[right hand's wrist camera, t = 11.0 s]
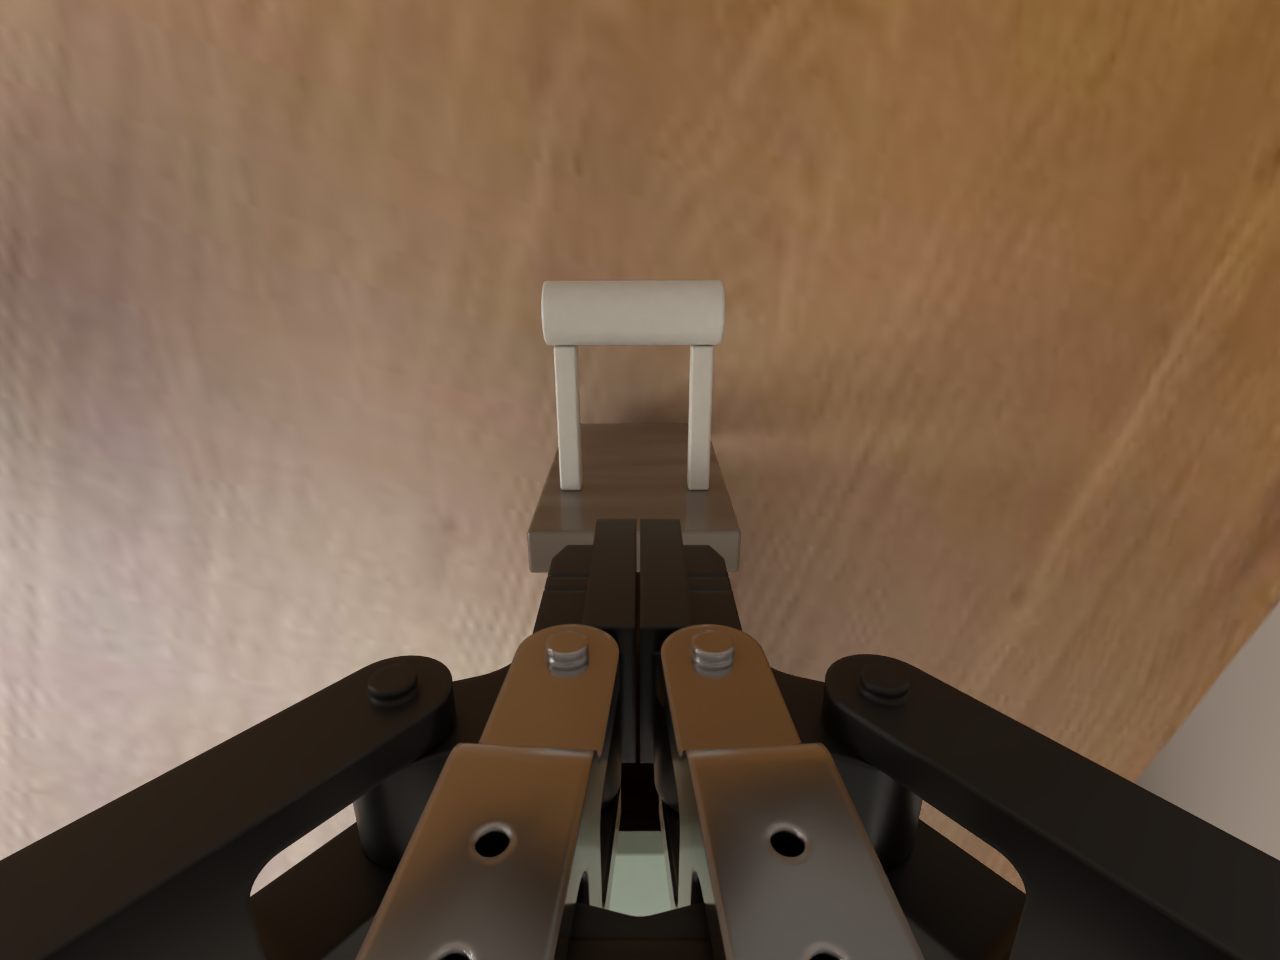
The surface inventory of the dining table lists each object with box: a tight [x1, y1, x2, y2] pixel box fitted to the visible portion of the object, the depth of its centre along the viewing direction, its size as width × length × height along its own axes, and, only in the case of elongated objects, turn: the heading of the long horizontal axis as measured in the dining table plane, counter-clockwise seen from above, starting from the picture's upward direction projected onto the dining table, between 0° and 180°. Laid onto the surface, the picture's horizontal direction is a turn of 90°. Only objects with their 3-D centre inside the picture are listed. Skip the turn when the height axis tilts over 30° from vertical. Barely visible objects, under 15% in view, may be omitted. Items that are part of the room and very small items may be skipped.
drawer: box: [527, 280, 741, 831], centre depth 24 cm, size 25×5×10 cm, turn 0°
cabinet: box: [609, 831, 671, 916], centre depth 29 cm, size 20×7×12 cm, turn 0°
